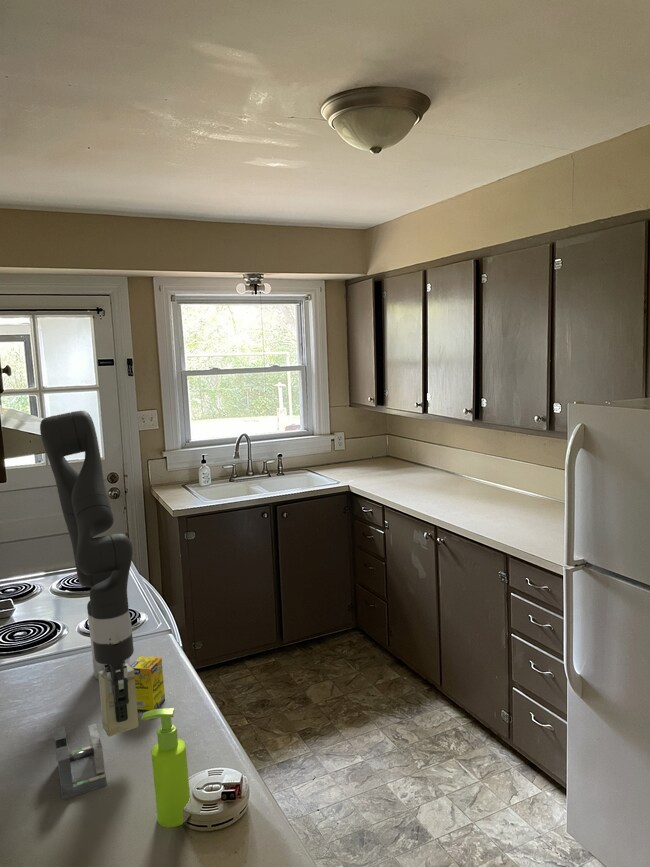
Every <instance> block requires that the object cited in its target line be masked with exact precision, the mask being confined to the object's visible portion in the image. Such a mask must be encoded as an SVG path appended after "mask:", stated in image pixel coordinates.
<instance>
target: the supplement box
mask: <svg viewBox="0 0 650 867" xmlns="http://www.w3.org/2000/svg"><path fill="white" fill-rule="evenodd" d="M162 658H163V657H158V656H157V657H155V656H139V657H138V658H137V659H136V660H135V661H134V662H132V663H131V664H130V666H131V667H132V668H133V669H134V674H135V687H136V700H137V712H138V713H144V712H147V711H150V710H154V709H159V707H160V706H161V705H162V704H163V703H164V702H165V700H166V694H165V685H164V684H165V683H164V682H165V680H164V672H163V662H162V661H163V660H162Z"/></svg>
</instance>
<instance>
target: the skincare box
mask: <svg viewBox="0 0 650 867" xmlns="http://www.w3.org/2000/svg"><path fill="white" fill-rule="evenodd" d="M125 666H127V671H128V674H127V679H128V699H129V704H127V713H128V719H127V720H126V721H123V722H119V723H118V722H117V721H116V714H115V705H114V704H113V701H114V699H113V694H111V693H110V685H109V681H111V680H112V676H111V677H109V678H107V675H106V672H105V670H102V671H99V672H98V675H99V680H98V685H99V697H100V699H99V700H100V708H101V709H100V710H101V720H102V721H101V722H102V729H103V731H104V732H105V733H106V735H107V736H108V738H109V737H113V736H116V735H119V734H121V733H125V732H128V731H130V730H133V729H135V728H138V727H139V712H137V700H136V687H135V674H134V669H133V668H132V667H131V663H130V664H129V663H125ZM112 687H113V688H114V686H113V682H112ZM121 697H124V696H121ZM121 697H119V698H121Z"/></svg>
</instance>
